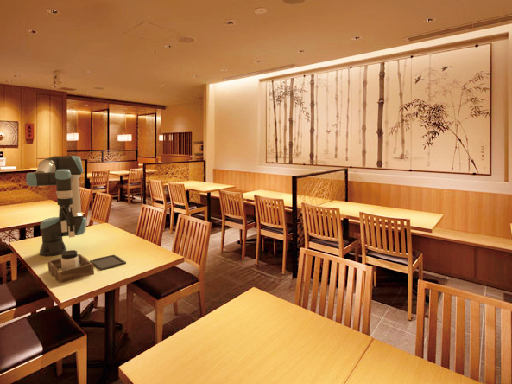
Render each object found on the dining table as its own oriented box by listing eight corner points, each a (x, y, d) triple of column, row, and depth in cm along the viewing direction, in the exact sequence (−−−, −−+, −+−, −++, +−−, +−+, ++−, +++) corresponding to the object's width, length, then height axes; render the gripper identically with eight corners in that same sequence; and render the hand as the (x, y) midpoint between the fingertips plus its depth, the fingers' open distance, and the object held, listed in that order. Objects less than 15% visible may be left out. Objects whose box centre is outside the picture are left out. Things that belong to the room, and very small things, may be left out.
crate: (48, 270, 190) (47, 261, 189) (80, 263, 202) (79, 253, 201) (59, 283, 174) (58, 272, 173) (93, 273, 186) (93, 263, 185)
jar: (62, 276, 182) (60, 256, 180) (61, 271, 189) (59, 251, 187) (80, 273, 187) (78, 253, 185) (78, 268, 194) (77, 249, 192)
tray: (90, 262, 204) (89, 260, 204) (114, 256, 214) (114, 254, 214) (101, 270, 191) (100, 268, 191) (126, 263, 202) (126, 261, 202)
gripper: (50, 195, 187) (54, 231, 190) (64, 201, 170) (67, 240, 173) (65, 194, 192) (68, 228, 196) (79, 199, 175) (82, 237, 178)
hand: (67, 234), depth 184 cm, fingers open, 13 cm apart
